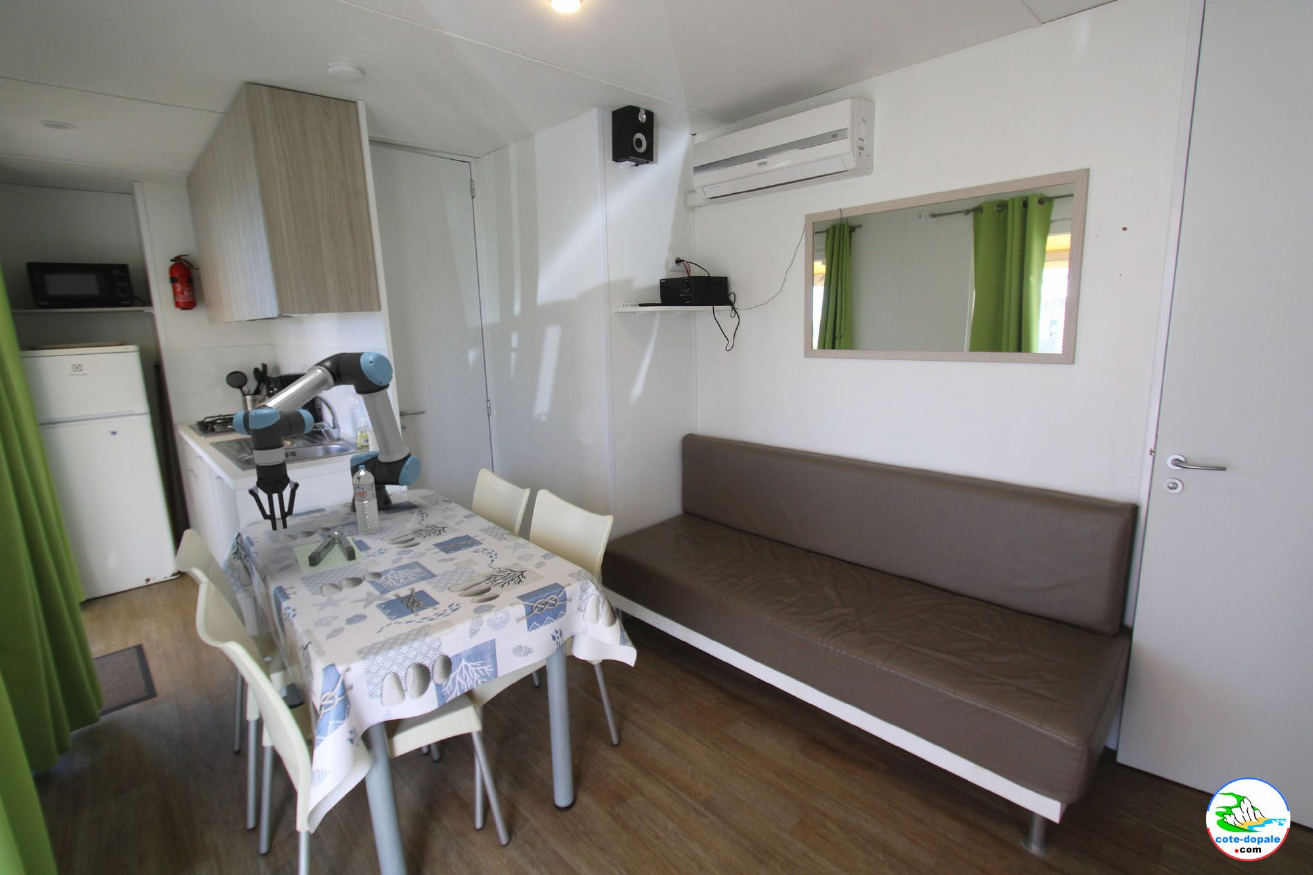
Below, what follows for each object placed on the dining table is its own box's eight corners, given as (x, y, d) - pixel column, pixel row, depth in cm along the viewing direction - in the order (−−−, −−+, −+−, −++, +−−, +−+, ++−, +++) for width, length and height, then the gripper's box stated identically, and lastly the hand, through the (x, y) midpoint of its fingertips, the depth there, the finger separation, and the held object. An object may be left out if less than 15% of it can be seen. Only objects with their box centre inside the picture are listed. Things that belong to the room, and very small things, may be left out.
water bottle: (354, 536, 213) (346, 467, 208) (371, 530, 219) (363, 462, 214) (367, 539, 210) (359, 469, 205) (384, 533, 216) (377, 464, 211)
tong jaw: (334, 544, 201) (333, 536, 201) (316, 565, 185) (315, 556, 184) (327, 545, 201) (326, 537, 200) (309, 565, 185) (308, 556, 184)
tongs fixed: (342, 537, 209) (341, 527, 208) (356, 559, 190) (355, 547, 189) (327, 540, 206) (326, 530, 205) (340, 562, 187) (338, 551, 186)
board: (349, 539, 210) (349, 536, 210) (365, 562, 190) (365, 559, 189) (293, 551, 200) (292, 547, 200) (303, 577, 180) (302, 573, 180)
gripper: (294, 457, 183) (304, 531, 188) (243, 463, 176) (254, 541, 180) (297, 461, 177) (308, 538, 182) (244, 468, 170) (256, 548, 174)
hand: (281, 539), depth 181 cm, fingers closed
